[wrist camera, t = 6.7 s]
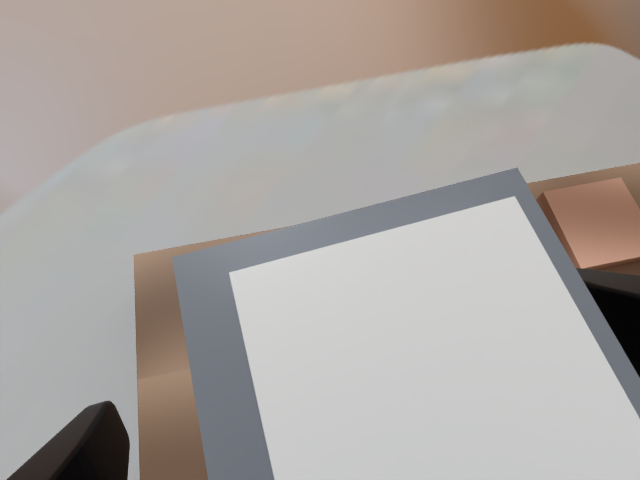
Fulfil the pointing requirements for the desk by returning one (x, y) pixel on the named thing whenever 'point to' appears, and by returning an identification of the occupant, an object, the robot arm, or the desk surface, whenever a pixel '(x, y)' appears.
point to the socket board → (157, 266)
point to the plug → (408, 347)
